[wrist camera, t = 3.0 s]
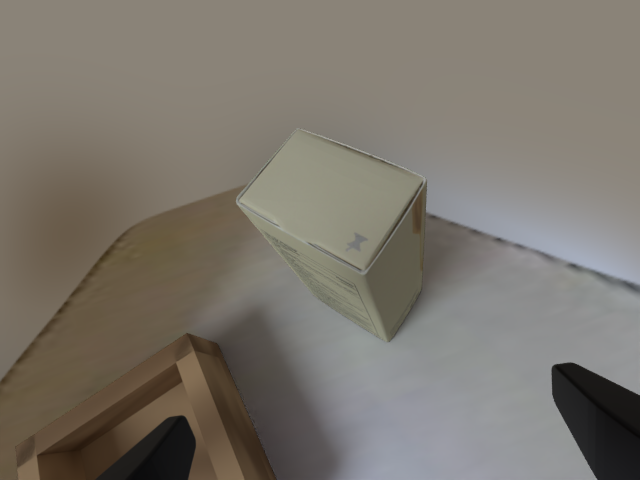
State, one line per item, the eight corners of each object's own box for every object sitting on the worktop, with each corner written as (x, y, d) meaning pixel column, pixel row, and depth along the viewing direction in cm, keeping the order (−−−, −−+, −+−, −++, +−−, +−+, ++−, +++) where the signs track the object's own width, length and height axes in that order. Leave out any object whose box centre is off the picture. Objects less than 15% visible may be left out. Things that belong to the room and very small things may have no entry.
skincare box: (423, 288, 23) (441, 178, 12) (388, 346, 22) (373, 282, 11) (342, 243, 25) (295, 119, 14) (307, 292, 24) (229, 199, 13)
